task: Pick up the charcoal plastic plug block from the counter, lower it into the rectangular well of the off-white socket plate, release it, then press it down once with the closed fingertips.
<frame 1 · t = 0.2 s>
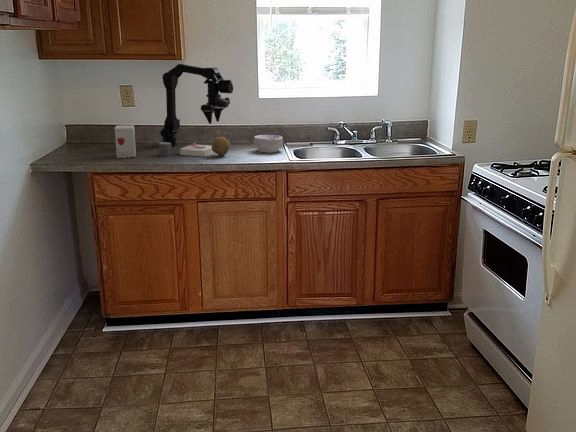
hand: (214, 122, 292), 14 cm above the table, tool pointing down, fingers open, 9 cm apart
white bowl: (268, 151, 294), on the table
supplement box: (126, 156, 278), on the table
plug: (165, 155, 281), on the table
socket plate: (198, 153, 287), on the table
natural sponge: (220, 156, 280), on the table
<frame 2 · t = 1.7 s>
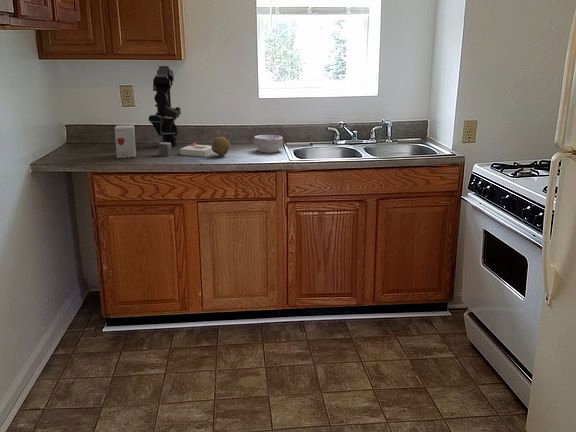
hand: (164, 133, 278), 11 cm above the table, tool pointing down, fingers open, 9 cm apart
nothing on the table moved.
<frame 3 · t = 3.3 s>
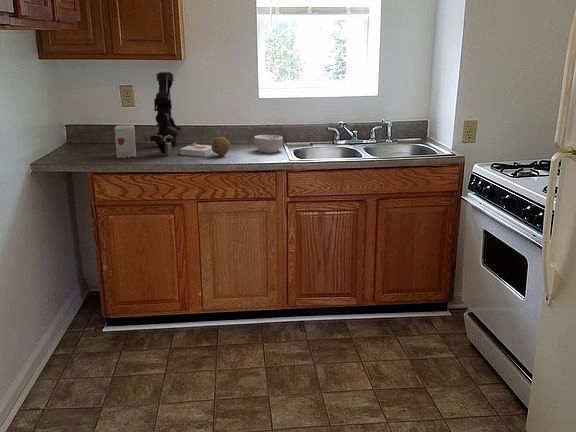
hand: (165, 152, 281), 1 cm above the table, tool pointing down, fingers closed on plug, 4 cm apart
plug: (165, 155, 281), on the table, touching gripper
everything else where it was.
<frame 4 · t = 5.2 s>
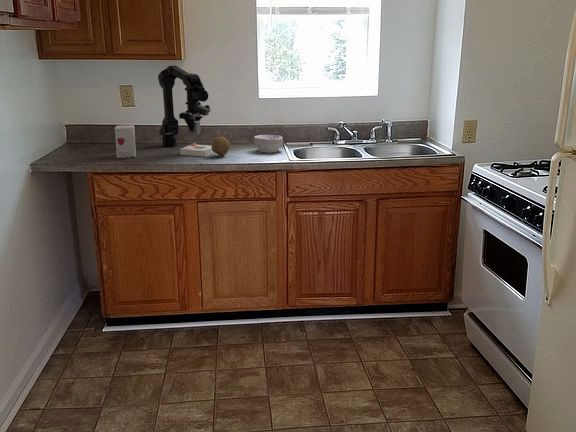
hand: (194, 131, 283), 12 cm above the table, tool pointing down, fingers closed on plug, 4 cm apart
plug: (194, 133, 283), point 10 cm above the table, touching gripper
everything else where it was.
when the fingers open (4 cm above the table, at t = 7.1 s): plug drops 2 cm, resting on socket plate.
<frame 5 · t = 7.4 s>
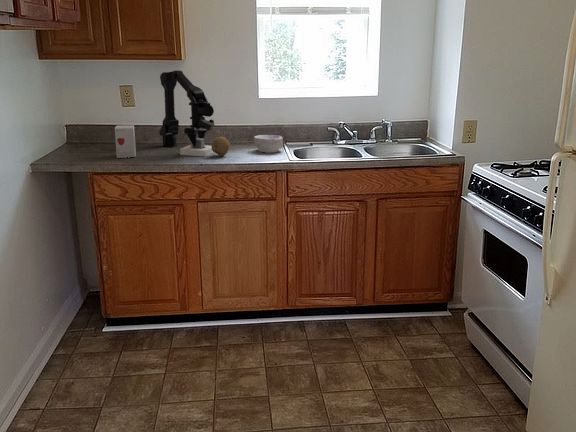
hand: (198, 145, 286), 4 cm above the table, tool pointing down, fingers open, 8 cm apart
plug: (198, 151, 287), point 1 cm above the table, touching socket plate
everything else where it was.
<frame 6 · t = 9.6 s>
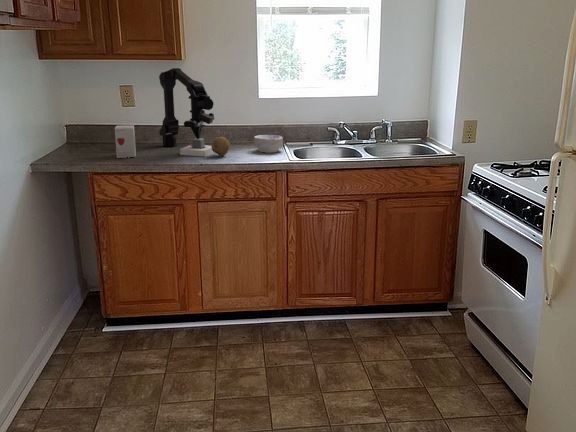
hand: (198, 138, 285), 7 cm above the table, tool pointing down, fingers closed, pressing on plug
plug: (198, 151, 287), point 1 cm above the table, touching gripper, socket plate
everything else where it was.
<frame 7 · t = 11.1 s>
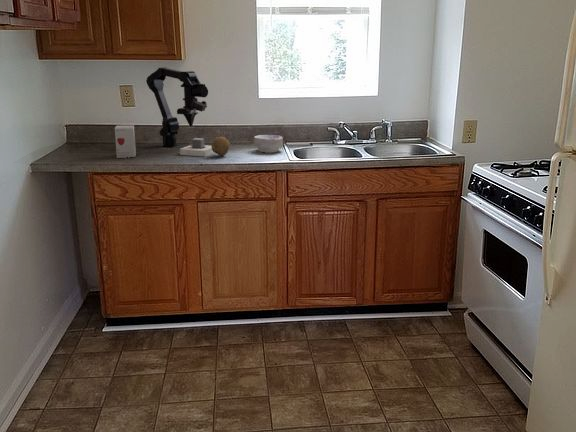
hand: (191, 126, 293), 12 cm above the table, tool pointing down, fingers closed
plug: (198, 151, 287), point 1 cm above the table, touching socket plate
everything else where it was.
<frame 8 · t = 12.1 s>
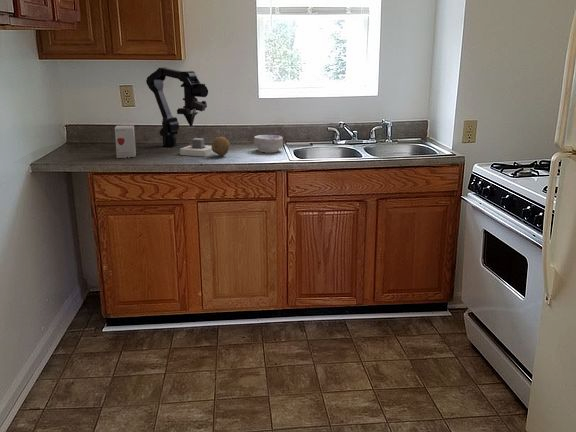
hand: (191, 126, 293), 13 cm above the table, tool pointing down, fingers closed
nothing on the table moved.
at the end: plug 0.0 cm off-centre on the socket plate, point 1.1 cm above the socket plate's base; plug tilted 0°; the gripper is holding nothing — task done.
